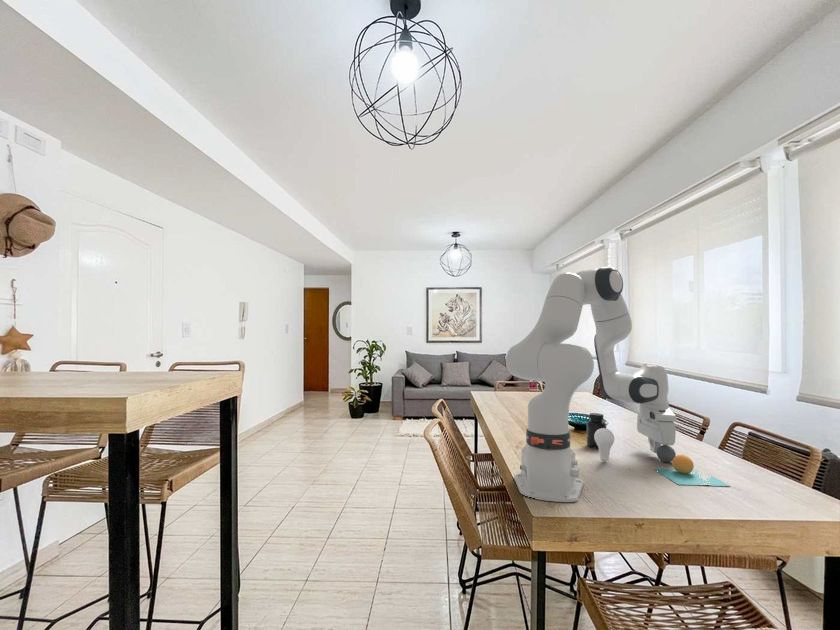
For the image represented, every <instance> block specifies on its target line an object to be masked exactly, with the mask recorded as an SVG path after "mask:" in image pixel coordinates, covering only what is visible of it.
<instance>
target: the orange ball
mask: <svg viewBox="0 0 840 630" xmlns="http://www.w3.org/2000/svg"><path fill="white" fill-rule="evenodd" d="M671 464H672V467H673V469H675V470H676V471H677V472H679V473H681V474H688V473H690V472H692V470H694V466H695V465H694V462H693V460H692V458H690V456H688V455H684V454H679V455H678V454H677V455H676V457H674V459H673V461H672V462H671Z"/></svg>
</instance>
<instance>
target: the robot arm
mask: <svg viewBox="0 0 840 630" xmlns="http://www.w3.org/2000/svg"><path fill="white" fill-rule="evenodd" d="M623 289H624V281H623V277H622V275H621V273H620V272H619V271H618V270H617V269H616V268H614V267H612V266H601V267H598V268H592V269H588V270H581V271H578V272H575V273H572V272H562V273H560V274H558V275H557V276H556V277H554V279H553V281H552V283H551V285H550V286H549V289H548V291H547V294H546V296H545V300H544V303H543V306H542V308H541V309H542V310H541V312H540V315H539V318H538V320H537V322H536V324H535V326H534V327H533V328H532V330H531V331H530V332H529V333H528V334H527V335H526V336H525V337H524V338H523V339H522V340H521V341H520V342H518V343H516V344H514V345H512V346H511V347H510V348H509V350H508V351H507V354H506V356H505V365H506V368H507V371H508V372H509V374H510V375H512V376H513V377H516V378H519V379H523V380H526V381H533V382H534V381H535V382H544V388H543V390H542V392H541V393H539V394H537V395H535V396H534V397H532V398H531V399H530V400H529V402H528V404H527V428H526V433H525V439H526V444H525V445H524V446H523V447H522V448H521V453H520V454H521V455H520V458H521V459H520V460H521V462H520V463H521V464H520V466H519V468H520V472H515V473H514V476H513V479H514V481H515V484H516V486H517V489H518V491H519V494H520V493H521V494H523V495H526V496H528V497H527V498H529V497H532V498H531V499H533V498H535V499H534V500H538V501H547V502H554V503H555V502H557V503H575V502H578V501H579V498H580V496H581V494H582V491H583V487H584V485H585V484H584V480H583V479H581V478H579V474H580V473H579V468H577V466H578V460H576V452H575V451H574V450H572V449H571V433H570V431H569V414H570V413H569V412H570V405H571V400H572V398H573V397H574V394H575V392H576V390H577V389H578V388H579V387H580V386H582V384H584V383H585V382H587V381H588V380H589V379H590V378H591V376H592V374H593V373H594V367H595V362H594V357H593V355H592V354H591V352H590V351H589V349H588V348H586V347H583V346H579V345H577V344H572V343H571V344H570V343H562V342H564V341H566V340H568V339H570V338H571V337H573V336H574V335H575V333H576V332H577V329H578V326H579V323H580V322H579V321H580V318H581V314H582V310H583V306H586V305H590V309H591V313H592V314H591V315H592V318H593V321H594V325H595V335H594V349H595V350H594V351H595V356H596V357H595V358H596V362H597V368H598V372H599V373H598V374H599V375H598V376H599V383H598V385H599V390H600V393H601V395H602V396H603V397H604V398H605V399H606V400H609V401H620V402H624V403H631V404H637V405H638V404H639V412H638V414H637V419H636V421H637V422H636V429H637V432H638V433H639V434H641V435H643V436H644V437H647V440H648V444H649V450H650V451H651V452H652V453H654V454H657V453H656V452H657V449H658V447H659V446H661V445H668V446H674V445H675V443H676V431H677V430H676V424H675V422H676V421H677V415H676V414H675V413H674V412H673V411H672V410H671V408H670V403H669V400H668V393H669V379H668V373H667V370H666V368H664V367H663V366H660V365H657V364H650V363H649V364H648V363H645V364H641V366H640V368H639V369H638V370H636V371H635V372H633V373H622V372H621V371H619V370H618V367H617V364H616V363H617V362H616V357H615V350H614V349H615V346H616V345H617V344H618V343H620V342H622V341H623V340H625V339H627V338H628V336H629V335H630V334H631V332H632V329H633V324H632V319H631V316H630V313H629V309H628V307H627V306H628V305H627V304H626V301H625V299H624V297H623V295H622V293H623ZM521 494H520V495H521Z"/></svg>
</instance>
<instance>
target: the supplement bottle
mask: <svg viewBox="0 0 840 630" xmlns="http://www.w3.org/2000/svg"><path fill="white" fill-rule="evenodd" d="M588 418H589V419H588V421H587V422H586V444H587V446H588V447H589V448H592V449H598V445H597V443H596V441H595V439H594V434H595V432H596V431H597V430H598V429H601V428H606V429H607V424H606V422H605V421H604V420H605V418H604V414H603V413H599V412H597V413H596V412H591V413H589V417H588Z"/></svg>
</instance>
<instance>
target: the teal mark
mask: <svg viewBox="0 0 840 630" xmlns="http://www.w3.org/2000/svg"><path fill="white" fill-rule="evenodd" d="M653 470H654V471H656V472H657V471H658V472H657V473H658V474H660V473H661V474H660V475H662V476H663V475H664V476H663V477H665V476H666V477H667V478H666V477H665V478H666V479H668V478H669V479H668V480H669V481H671V480H672V481H671V482H672V483H674V482H675V483H674V484H676V485H677V484H678V486H690V485H700V484H701V485H702V484H703V483H707V482H708V483H707V485H708V484H710V485H711V486H710V487H720V486H731V485H729V484H727V483H726V482H724V481H722V480H721V479H719V478H716V477H714V476H713V475H711V478H710V477H709V478H710V479H709V478H707V481H705V480H704V481H703V479H702V478H699V474H698V473H697V470H698V469H693V471H692V474H691V472H690V473H688V474H681V473H679V472H677V471H676V470H675V469H674V468H673V469H671V468H653ZM695 470H696V471H695ZM694 471H695V473H694V474H693V472H694ZM697 474H698V475H697ZM701 475H702V474H701ZM701 475H700V477H701ZM708 479H709V481H708ZM709 482H710V483H709ZM703 485H704V484H703ZM705 485H706V484H705Z"/></svg>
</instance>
